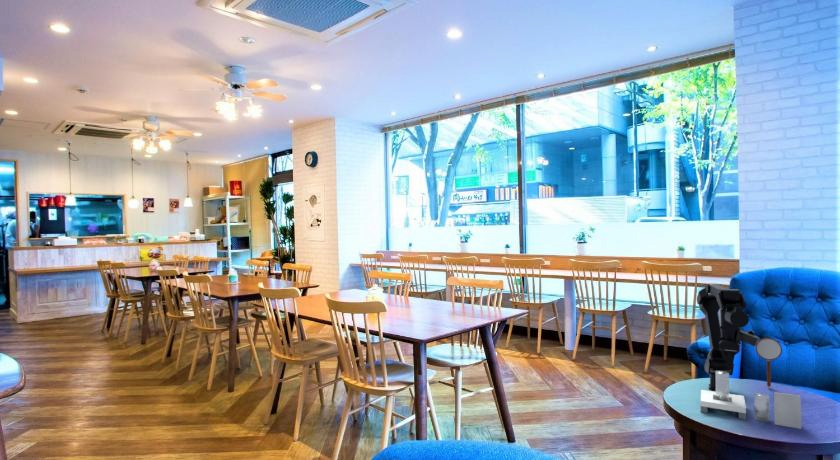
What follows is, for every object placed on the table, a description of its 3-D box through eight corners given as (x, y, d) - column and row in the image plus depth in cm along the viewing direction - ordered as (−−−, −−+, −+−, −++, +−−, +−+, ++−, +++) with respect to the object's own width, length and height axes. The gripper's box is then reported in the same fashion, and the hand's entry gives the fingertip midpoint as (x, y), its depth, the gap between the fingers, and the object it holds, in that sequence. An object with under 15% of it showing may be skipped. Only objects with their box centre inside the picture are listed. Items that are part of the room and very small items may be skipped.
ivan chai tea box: (801, 429, 150) (801, 397, 150) (774, 424, 153) (774, 393, 153) (800, 425, 153) (799, 394, 153) (774, 420, 157) (773, 390, 156)
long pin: (720, 406, 169) (720, 370, 169) (731, 410, 166) (731, 373, 166) (713, 408, 168) (712, 371, 168) (724, 412, 164) (724, 374, 164)
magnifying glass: (756, 387, 188) (755, 337, 188) (755, 386, 190) (754, 336, 190) (783, 390, 184) (782, 339, 184) (781, 389, 186) (781, 338, 186)
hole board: (701, 400, 176) (701, 389, 176) (743, 406, 169) (743, 395, 169) (700, 411, 164) (700, 400, 164) (746, 419, 158) (745, 407, 158)
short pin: (754, 416, 160) (753, 392, 160) (768, 418, 158) (768, 394, 158) (755, 420, 157) (754, 396, 157) (770, 422, 155) (769, 398, 155)
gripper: (756, 328, 162) (757, 374, 161) (756, 322, 177) (757, 364, 176) (718, 325, 168) (719, 370, 168) (721, 319, 184) (722, 360, 183)
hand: (730, 366), depth 173 cm, fingers open, 9 cm apart
